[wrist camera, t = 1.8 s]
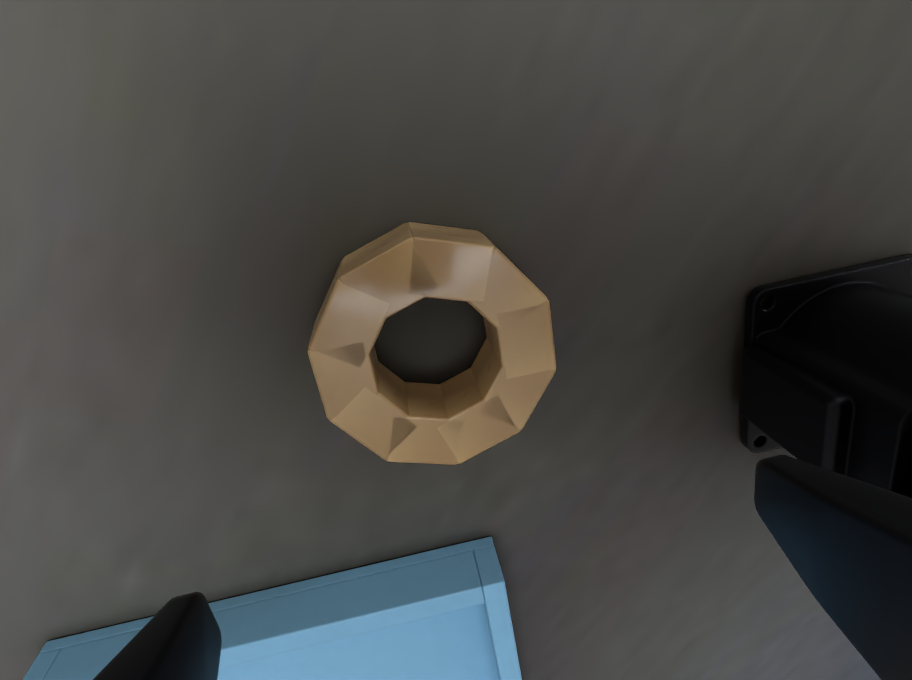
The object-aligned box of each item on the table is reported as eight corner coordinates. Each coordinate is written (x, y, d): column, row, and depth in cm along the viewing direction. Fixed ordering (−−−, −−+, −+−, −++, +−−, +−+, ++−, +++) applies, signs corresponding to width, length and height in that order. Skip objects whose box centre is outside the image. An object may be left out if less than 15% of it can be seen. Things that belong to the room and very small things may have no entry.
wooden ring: (518, 200, 17) (540, 211, 14) (542, 404, 19) (565, 440, 17) (292, 243, 16) (279, 263, 14) (350, 447, 19) (347, 490, 17)
